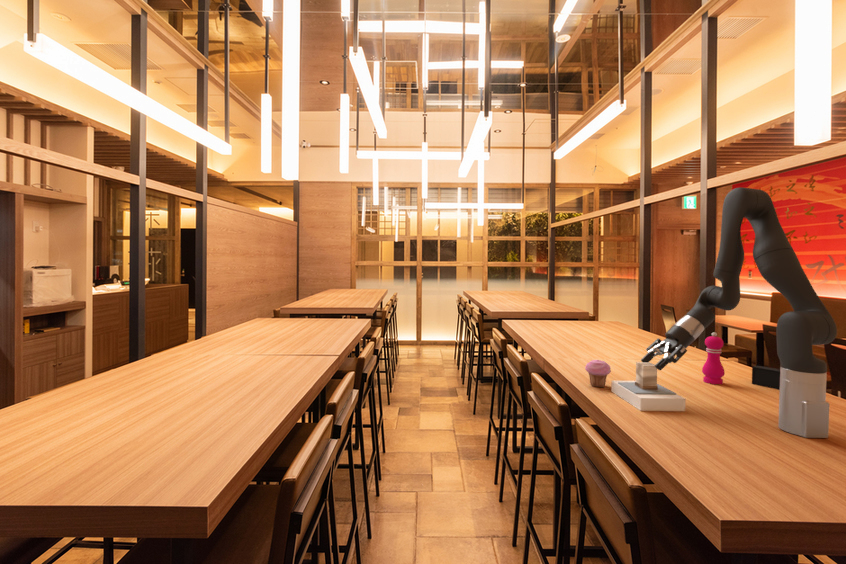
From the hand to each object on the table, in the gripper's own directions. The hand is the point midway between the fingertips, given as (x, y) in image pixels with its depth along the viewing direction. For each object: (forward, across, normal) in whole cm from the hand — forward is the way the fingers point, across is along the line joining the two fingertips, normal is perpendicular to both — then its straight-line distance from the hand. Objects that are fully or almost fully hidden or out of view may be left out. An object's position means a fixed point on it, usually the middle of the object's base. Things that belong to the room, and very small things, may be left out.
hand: (650, 365), depth 134 cm
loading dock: (+9, 0, +8) cm, 12 cm away
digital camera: (-32, -19, +49) cm, 61 cm away
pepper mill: (-18, -23, +36) cm, 46 cm away
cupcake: (+16, -18, +2) cm, 24 cm away
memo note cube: (+6, 0, +5) cm, 8 cm away
